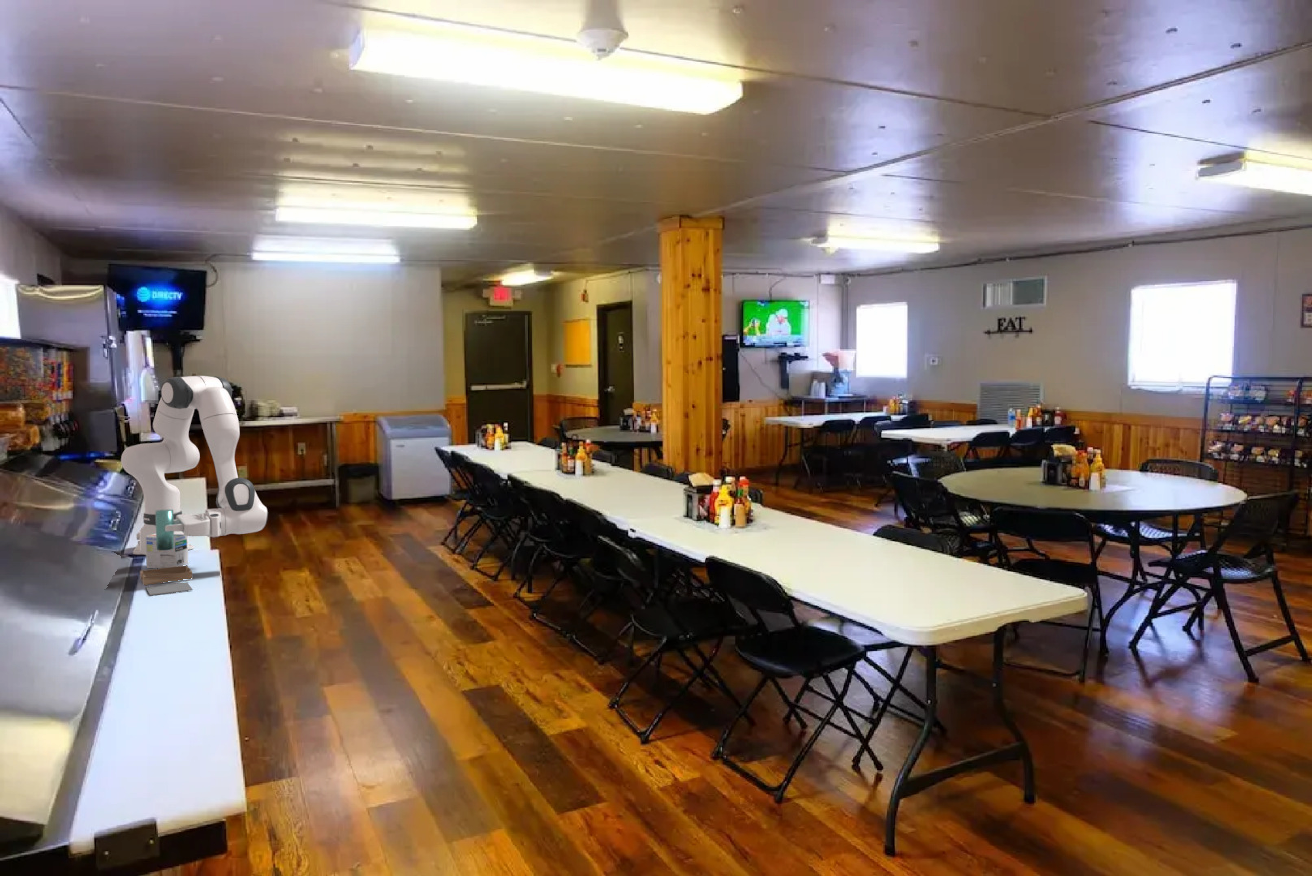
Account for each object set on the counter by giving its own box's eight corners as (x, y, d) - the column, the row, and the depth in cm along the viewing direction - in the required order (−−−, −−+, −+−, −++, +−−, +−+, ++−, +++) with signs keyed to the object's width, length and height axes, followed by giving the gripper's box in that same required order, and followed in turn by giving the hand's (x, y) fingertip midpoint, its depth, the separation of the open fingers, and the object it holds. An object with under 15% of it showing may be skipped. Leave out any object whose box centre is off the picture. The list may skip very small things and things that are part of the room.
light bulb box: (189, 565, 287) (188, 533, 286) (176, 569, 280) (175, 537, 279) (159, 563, 288) (158, 532, 287) (145, 568, 281) (144, 535, 281)
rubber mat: (145, 587, 258) (145, 586, 258) (186, 582, 264) (186, 581, 264) (149, 595, 249) (149, 594, 249) (192, 590, 255) (192, 589, 255)
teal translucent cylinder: (155, 548, 268) (154, 510, 267) (173, 546, 271) (172, 508, 270) (157, 550, 264) (156, 512, 263) (175, 549, 267) (174, 511, 266)
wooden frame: (140, 578, 268) (140, 570, 268) (187, 573, 276) (187, 565, 276) (144, 585, 260) (143, 577, 260) (192, 579, 268) (192, 571, 268)
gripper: (207, 507, 283) (158, 511, 275) (218, 517, 267) (167, 521, 258) (207, 526, 284) (159, 530, 275) (218, 537, 267) (168, 542, 259)
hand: (163, 526), depth 267 cm, fingers closed on teal translucent cylinder, 5 cm apart
